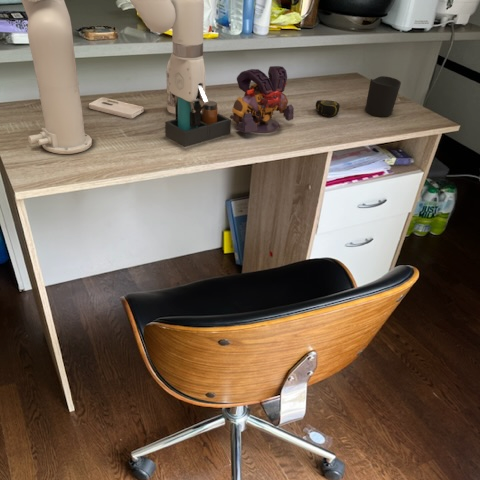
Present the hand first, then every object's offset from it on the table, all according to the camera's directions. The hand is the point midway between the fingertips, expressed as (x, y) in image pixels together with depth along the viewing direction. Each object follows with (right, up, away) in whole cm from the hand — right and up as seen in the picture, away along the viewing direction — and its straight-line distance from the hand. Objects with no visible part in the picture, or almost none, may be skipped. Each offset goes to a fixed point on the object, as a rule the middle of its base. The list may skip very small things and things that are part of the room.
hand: (187, 121), depth 142 cm
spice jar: (+5, 0, +7) cm, 9 cm away
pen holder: (+59, +14, +30) cm, 68 cm away
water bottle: (0, -3, +3) cm, 4 cm away
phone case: (-23, +9, +16) cm, 30 cm away
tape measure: (+42, +12, +26) cm, 51 cm away
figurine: (+20, +3, +13) cm, 24 cm away
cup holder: (+2, -2, +5) cm, 6 cm away
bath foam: (-5, +10, +19) cm, 22 cm away
